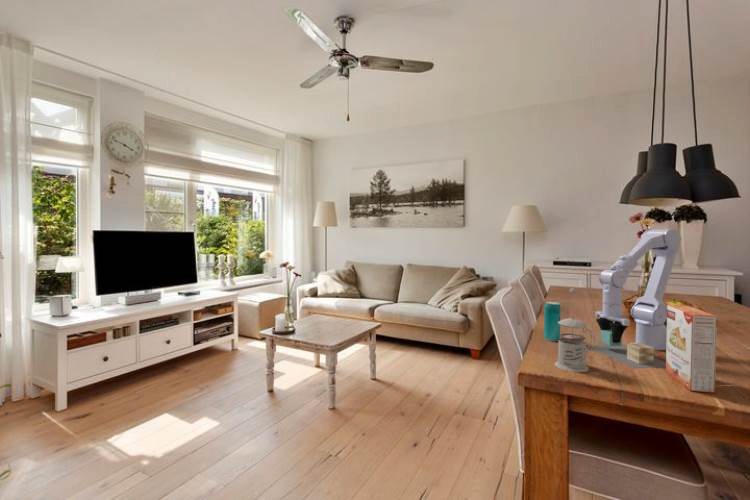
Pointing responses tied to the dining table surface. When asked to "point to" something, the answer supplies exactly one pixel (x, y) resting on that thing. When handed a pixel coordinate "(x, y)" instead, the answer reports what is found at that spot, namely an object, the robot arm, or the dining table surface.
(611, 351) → the slate mat
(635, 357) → the tower lower
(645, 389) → the dining table surface
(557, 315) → the beverage can
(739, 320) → the dining table surface
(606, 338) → the teal block
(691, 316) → the cracker box
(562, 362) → the french press
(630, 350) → the tower upper
